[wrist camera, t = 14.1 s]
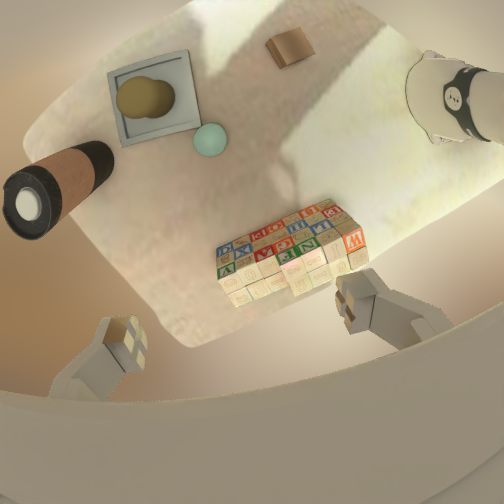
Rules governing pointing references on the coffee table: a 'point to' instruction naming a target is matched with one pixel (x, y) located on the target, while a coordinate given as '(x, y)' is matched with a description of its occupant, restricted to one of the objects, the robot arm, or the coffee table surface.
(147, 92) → the olive brown pawn
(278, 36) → the walnut cube
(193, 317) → the coffee table surface
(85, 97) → the coffee table surface
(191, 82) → the tray
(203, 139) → the teal cylinder
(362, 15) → the coffee table surface
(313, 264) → the stack of blocks
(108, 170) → the travel mug
